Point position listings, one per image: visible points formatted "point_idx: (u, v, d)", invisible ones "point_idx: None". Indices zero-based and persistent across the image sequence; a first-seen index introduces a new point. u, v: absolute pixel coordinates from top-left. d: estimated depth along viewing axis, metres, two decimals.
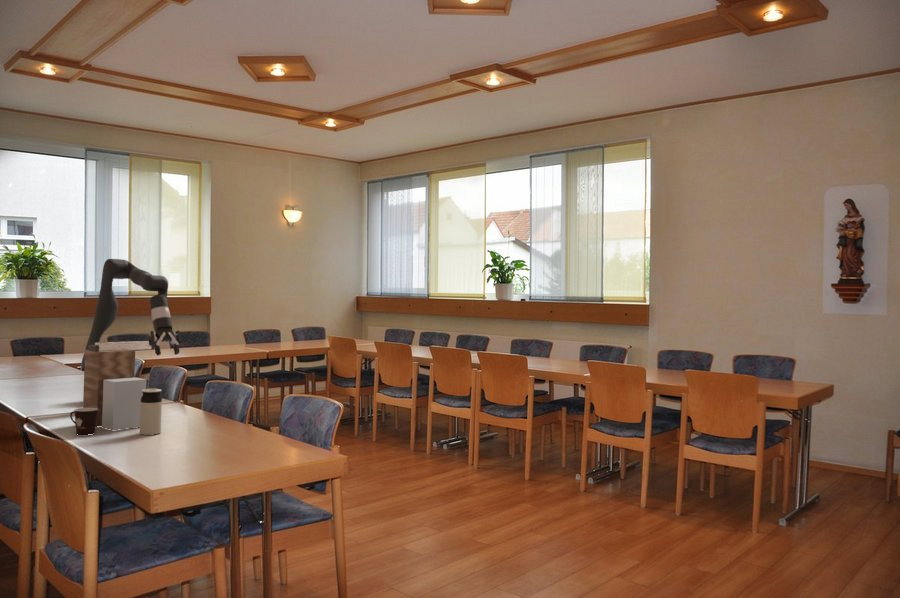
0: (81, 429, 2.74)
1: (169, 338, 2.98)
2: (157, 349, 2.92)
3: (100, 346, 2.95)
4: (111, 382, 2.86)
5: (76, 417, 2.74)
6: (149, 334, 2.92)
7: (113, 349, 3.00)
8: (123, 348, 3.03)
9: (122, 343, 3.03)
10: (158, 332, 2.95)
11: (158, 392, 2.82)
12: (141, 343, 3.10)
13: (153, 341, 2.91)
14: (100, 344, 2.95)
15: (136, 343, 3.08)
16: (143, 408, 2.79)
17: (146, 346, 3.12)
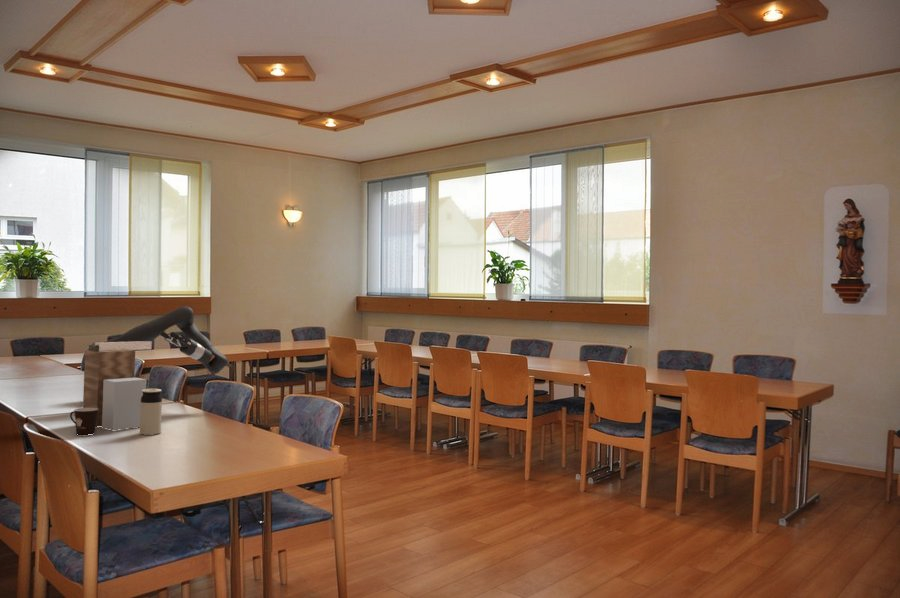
0: (81, 429, 2.74)
1: (174, 341, 3.26)
2: (174, 337, 3.20)
3: (100, 346, 2.95)
4: (111, 382, 2.86)
5: (76, 417, 2.74)
6: (189, 343, 3.24)
7: (113, 349, 3.00)
8: (123, 348, 3.03)
9: (122, 343, 3.03)
10: (184, 345, 3.26)
11: (158, 392, 2.82)
12: (141, 343, 3.10)
13: (181, 342, 3.21)
14: (100, 344, 2.95)
15: (136, 343, 3.08)
16: (143, 408, 2.79)
17: (146, 346, 3.12)
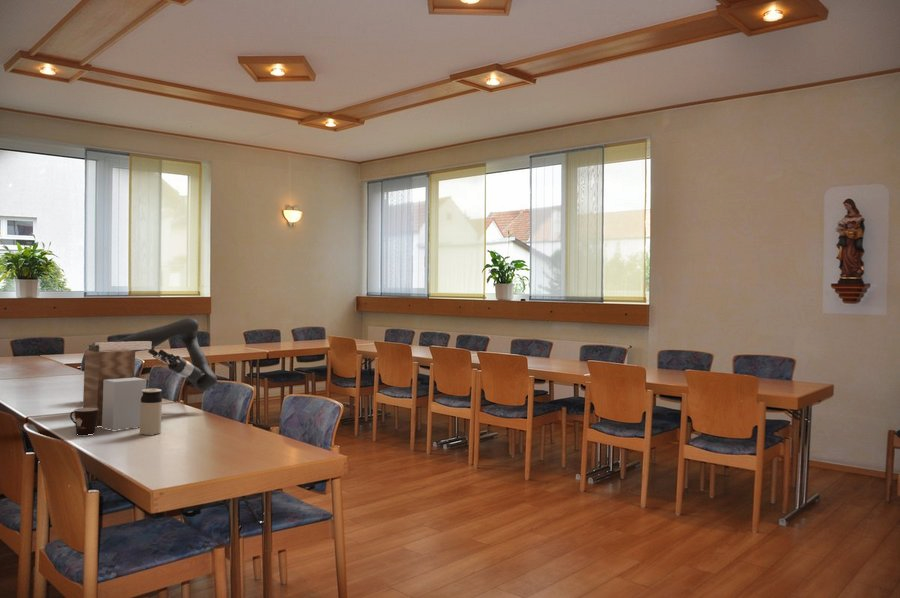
0: (81, 429, 2.74)
1: (163, 359, 3.22)
2: (163, 355, 3.15)
3: (100, 346, 2.95)
4: (111, 382, 2.86)
5: (76, 417, 2.74)
6: (178, 361, 3.20)
7: (113, 349, 3.00)
8: (123, 348, 3.03)
9: (122, 343, 3.03)
10: (173, 363, 3.21)
11: (158, 392, 2.82)
12: (141, 343, 3.10)
13: (170, 359, 3.17)
14: (100, 344, 2.95)
15: (136, 343, 3.08)
16: (143, 408, 2.79)
17: (146, 346, 3.12)
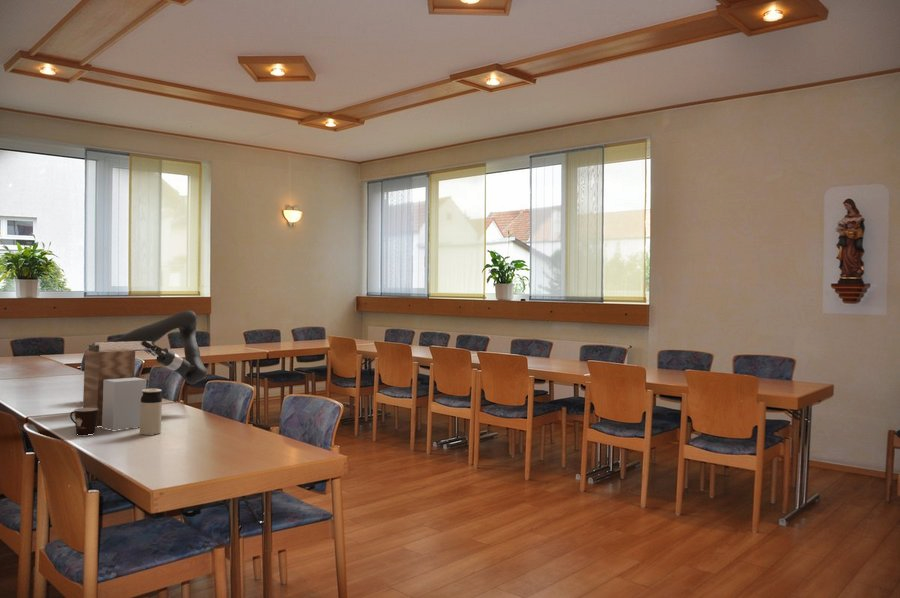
0: (81, 429, 2.74)
1: None
2: (146, 346, 3.11)
3: (100, 346, 2.95)
4: (111, 382, 2.86)
5: (76, 417, 2.74)
6: (163, 351, 3.14)
7: (113, 349, 3.00)
8: (123, 348, 3.03)
9: (122, 343, 3.03)
10: (161, 355, 3.16)
11: (158, 392, 2.82)
12: (141, 343, 3.10)
13: (154, 351, 3.12)
14: (100, 344, 2.95)
15: (136, 343, 3.08)
16: (143, 408, 2.79)
17: None
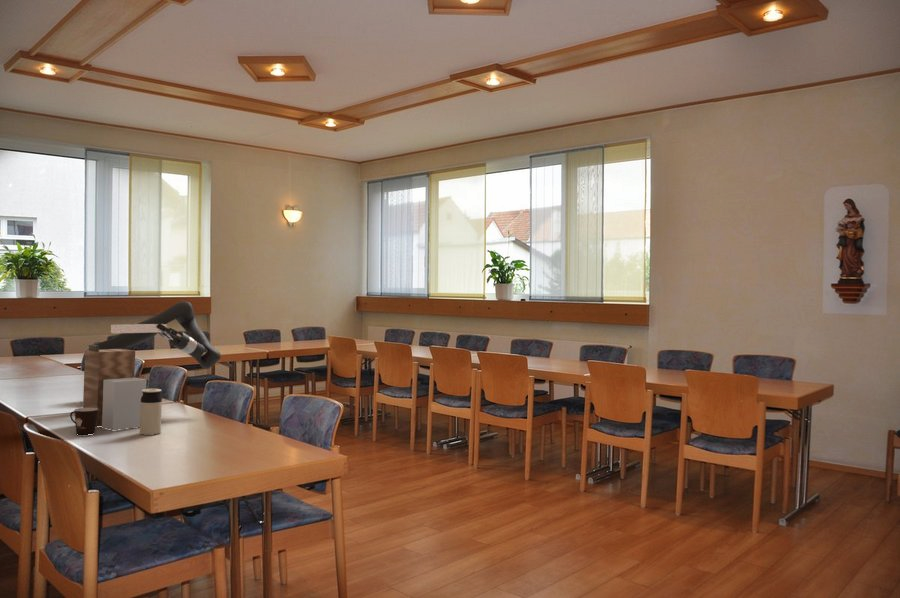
0: (81, 429, 2.74)
1: (167, 335, 3.15)
2: (162, 329, 3.09)
3: (116, 328, 2.93)
4: (111, 382, 2.86)
5: (76, 417, 2.74)
6: (178, 334, 3.12)
7: (129, 331, 2.98)
8: (139, 330, 3.02)
9: (138, 325, 3.01)
10: (176, 338, 3.15)
11: (158, 392, 2.82)
12: (156, 326, 3.08)
13: (169, 333, 3.11)
14: (116, 326, 2.93)
15: (151, 326, 3.06)
16: (143, 408, 2.79)
17: None
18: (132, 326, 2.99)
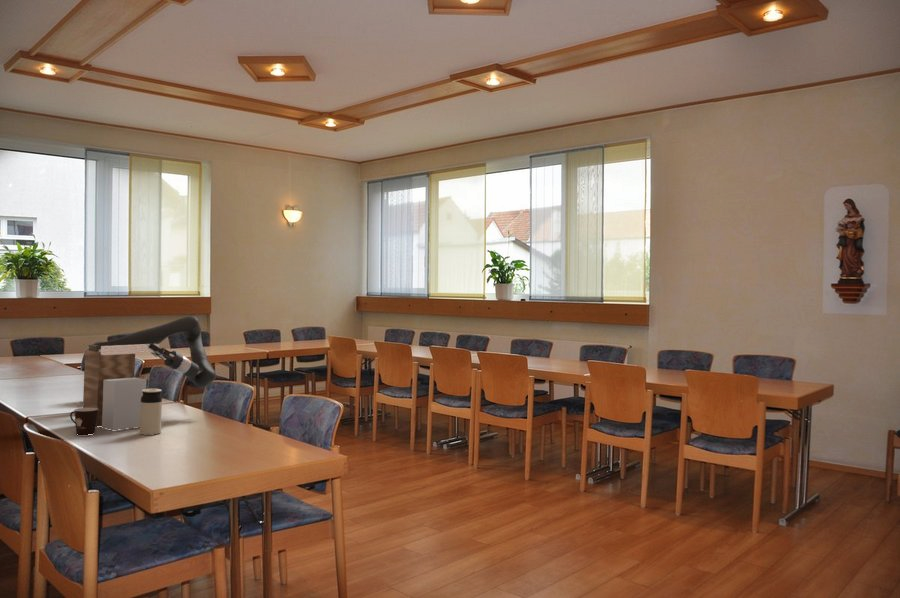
0: (81, 429, 2.74)
1: None
2: (154, 349, 3.00)
3: (106, 350, 2.84)
4: (111, 382, 2.86)
5: (76, 417, 2.74)
6: (171, 354, 3.03)
7: (120, 353, 2.89)
8: (130, 351, 2.92)
9: (129, 346, 2.92)
10: (169, 358, 3.05)
11: (158, 392, 2.82)
12: (148, 346, 2.99)
13: (162, 354, 3.01)
14: (106, 348, 2.84)
15: (143, 346, 2.97)
16: (143, 408, 2.79)
17: None
18: (123, 347, 2.90)
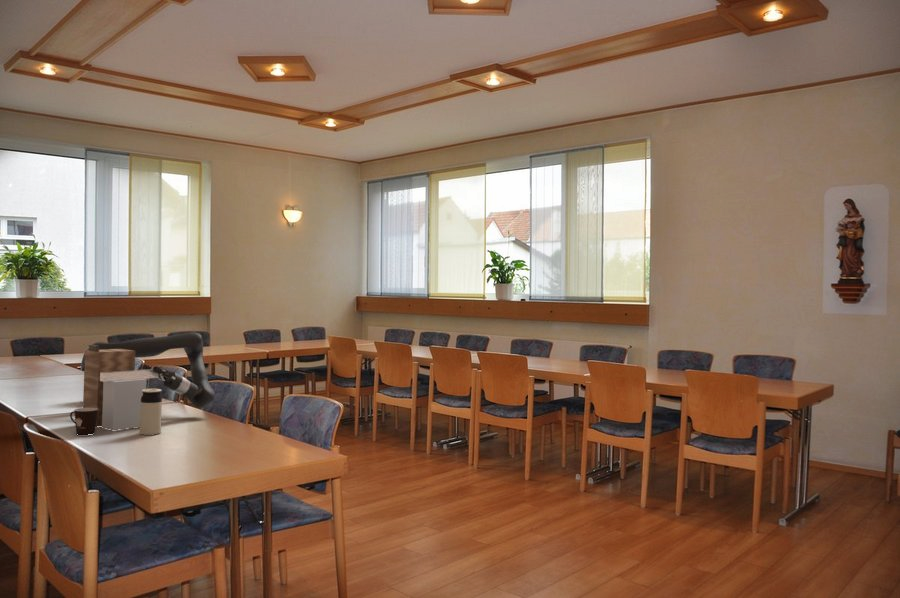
0: (81, 429, 2.74)
1: (158, 376, 3.06)
2: (157, 371, 2.99)
3: (105, 376, 2.84)
4: (111, 382, 2.86)
5: (76, 417, 2.74)
6: (173, 377, 3.03)
7: (119, 379, 2.89)
8: (129, 377, 2.93)
9: (128, 372, 2.92)
10: (168, 379, 3.05)
11: (158, 392, 2.82)
12: (148, 372, 2.99)
13: (165, 376, 3.01)
14: (105, 374, 2.84)
15: (142, 372, 2.97)
16: (143, 408, 2.79)
17: (153, 375, 3.01)
18: (122, 373, 2.90)
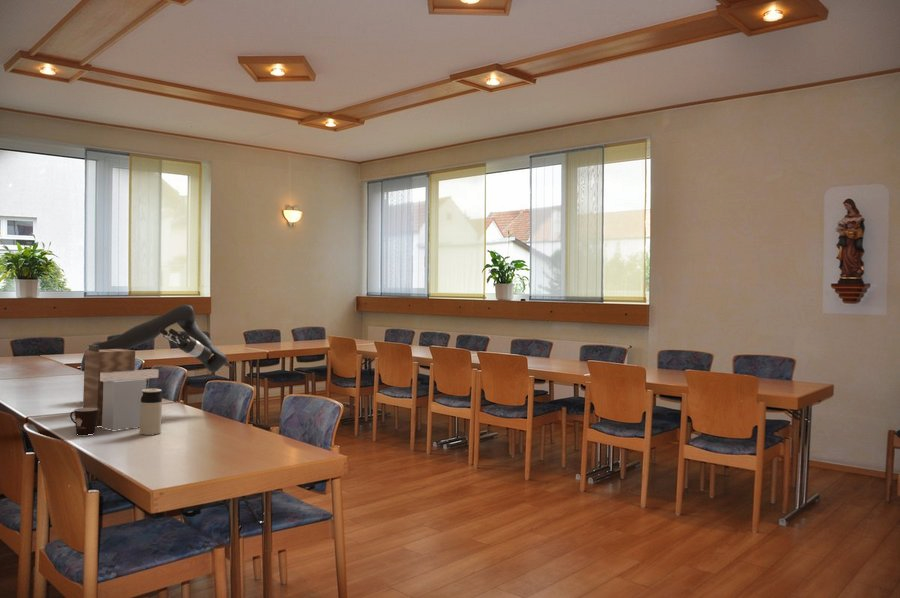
0: (81, 429, 2.74)
1: (173, 338, 3.21)
2: (173, 334, 3.14)
3: (105, 376, 2.84)
4: (111, 382, 2.86)
5: (76, 417, 2.74)
6: (188, 340, 3.18)
7: (119, 379, 2.89)
8: (129, 377, 2.93)
9: (128, 372, 2.92)
10: (183, 342, 3.20)
11: (158, 392, 2.82)
12: (148, 372, 2.99)
13: (180, 338, 3.16)
14: (105, 374, 2.84)
15: (142, 372, 2.97)
16: (143, 408, 2.79)
17: (153, 375, 3.01)
18: (122, 373, 2.90)
